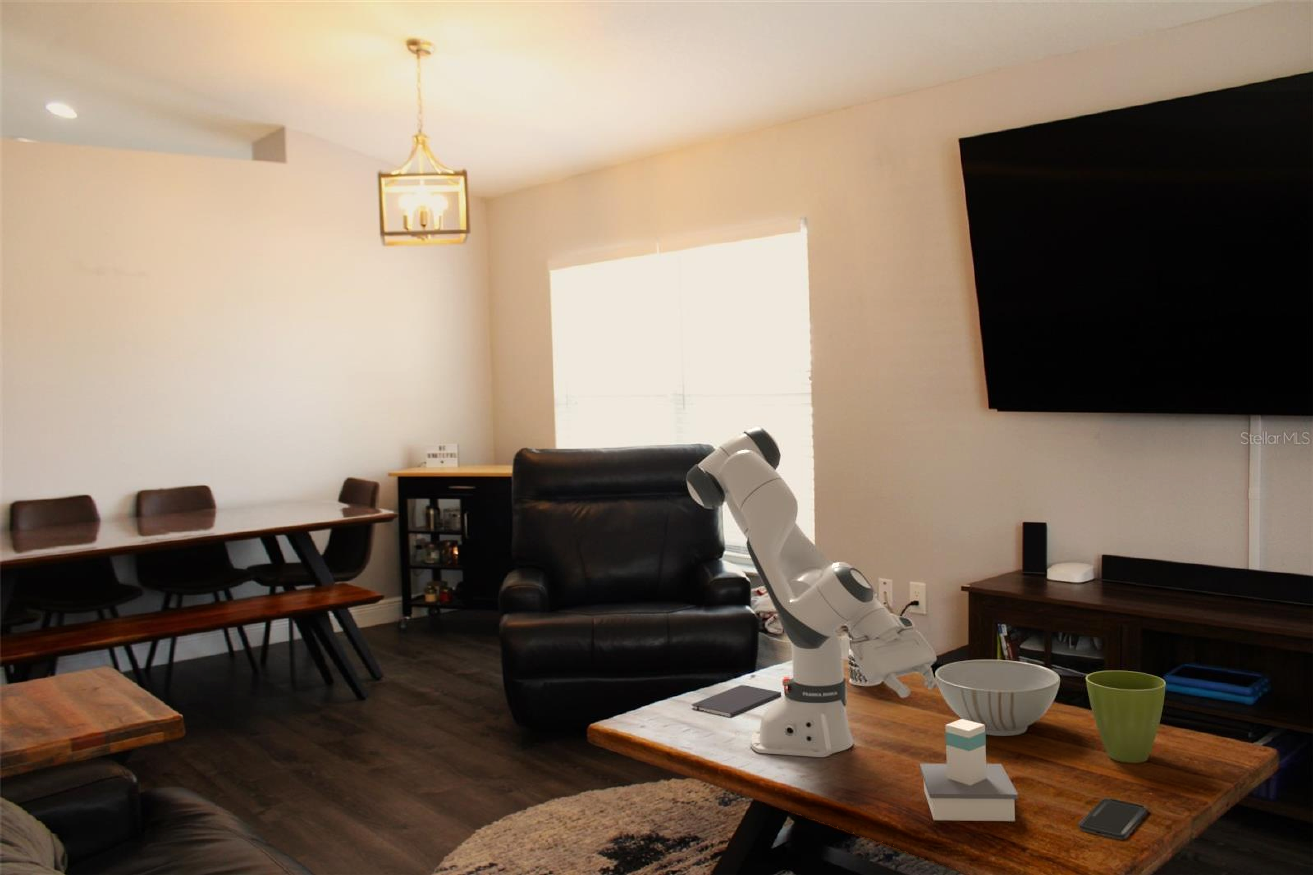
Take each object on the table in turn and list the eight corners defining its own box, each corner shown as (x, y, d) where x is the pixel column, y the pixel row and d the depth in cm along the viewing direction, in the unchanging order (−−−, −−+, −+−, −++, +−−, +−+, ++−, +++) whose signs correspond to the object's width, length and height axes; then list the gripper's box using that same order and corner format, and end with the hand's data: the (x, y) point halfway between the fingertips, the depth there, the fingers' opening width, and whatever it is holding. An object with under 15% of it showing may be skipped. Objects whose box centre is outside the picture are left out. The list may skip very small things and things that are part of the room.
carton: (946, 778, 190) (945, 724, 190) (963, 771, 194) (961, 718, 193) (970, 785, 186) (968, 731, 186) (986, 778, 189) (985, 724, 189)
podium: (930, 821, 184) (929, 793, 183) (920, 789, 199) (919, 763, 198) (1019, 822, 182) (1018, 794, 181) (1001, 789, 197) (1001, 764, 196)
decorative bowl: (984, 754, 216) (982, 697, 215) (914, 719, 241) (912, 668, 241) (1088, 736, 224) (1087, 681, 224) (1010, 703, 250) (1008, 654, 249)
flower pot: (1076, 745, 219) (1074, 671, 218) (1147, 743, 218) (1145, 668, 218) (1105, 771, 204) (1103, 691, 203) (1181, 768, 203) (1179, 688, 203)
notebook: (730, 719, 248) (781, 698, 264) (730, 713, 248) (781, 692, 264) (690, 710, 257) (741, 690, 273) (690, 704, 257) (741, 684, 273)
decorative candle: (848, 686, 270) (844, 592, 269) (847, 676, 279) (844, 585, 278) (883, 686, 269) (880, 591, 268) (881, 677, 278) (878, 585, 277)
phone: (1150, 807, 184) (1124, 836, 173) (1150, 813, 184) (1124, 842, 173) (1104, 797, 189) (1076, 824, 178) (1104, 803, 189) (1076, 831, 178)
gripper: (855, 630, 196) (899, 690, 188) (915, 617, 210) (959, 673, 202) (836, 650, 199) (879, 710, 192) (897, 636, 213) (939, 692, 206)
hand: (920, 691), depth 197 cm, fingers open, 8 cm apart
